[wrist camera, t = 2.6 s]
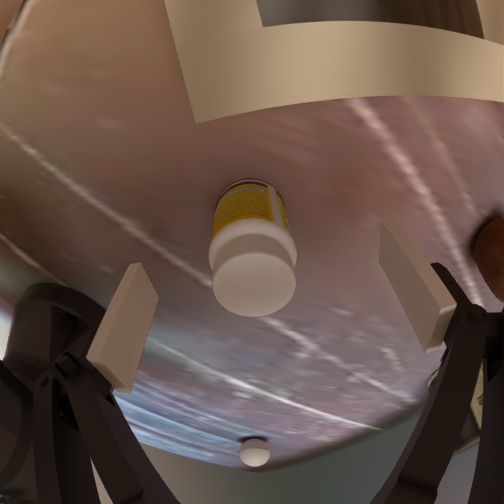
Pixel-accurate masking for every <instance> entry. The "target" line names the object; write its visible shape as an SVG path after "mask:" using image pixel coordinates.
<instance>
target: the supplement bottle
mask: <svg viewBox="0 0 504 504" xmlns="http://www.w3.org/2000/svg"><path fill="white" fill-rule="evenodd" d="M208 254H209V264H210V267H211V270H212V272H213V280H212V288H213V293H214V295H215V297H216V299H217V301H218V302H219V303H220V304H221V305H222V306H223V307H224V308H226V309H227V310H229V311H230V312H233V313H235V314H238V315H242V316H248V317H257V316H264V315H268V314H271V313H274V312H276V311H278V310H279V309H281V308H283V307H284V306H285V305H286V304H287V303H288V302H289V301H290V299H291V298H292V296H293V294H294V292H295V288H296V277H295V271H294V268H295V265H296V260H297V251H296V245H295V241H294V238H293V234H292V231H291V227H290V223H289V220H288V216H287V213H286V209H285V206H284V203H283V200H282V198H281V196H280V194H279V193H278V192H277V191H276V190H275V189H274V188H273V187H272V186H271V185H269V184H267V183H265V182H262V181H259V180H253V179H247V180H241V181H238V182H236V183H234V184H232V185H230V186H229V187H228V188H227V189H225V191H224V192H223V193H222V194H221V196H220V198H219V200H218V202H217V205H216V211H215V217H214V223H213V229H212V234H211V240H210V246H209V253H208Z"/></svg>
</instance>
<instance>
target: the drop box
mask: <svg viewBox="0 0 504 504" xmlns="http://www.w3.org/2000/svg"><path fill="white" fill-rule="evenodd" d="M164 1H165V6H166V10H167V14H168V18H169V22H170V26H171V30H172V34H173V38H174V42H175V46H176V50H177V54H178V58H179V62H180V66H181V70H182V73H183V77H184V81H185V85H186V89H187V93H188V96H189V100H190V104H191V108H192V111H193V115H194V119H195V123H196V124H199V123H203V122H206V121H210V120H214V119H219V118H223V117H227V116H232V115H236V114H241V113H246V112H251V111H256V110H261V109H267V108H272V107H278V106H284V105H291V104H298V103H305V102H313V101H321V100H330V99H341V98H353V97H369V96H397V95H421V96H448V97H463V98H474V99H484V100H492V101H499V102H504V0H164Z"/></svg>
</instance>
